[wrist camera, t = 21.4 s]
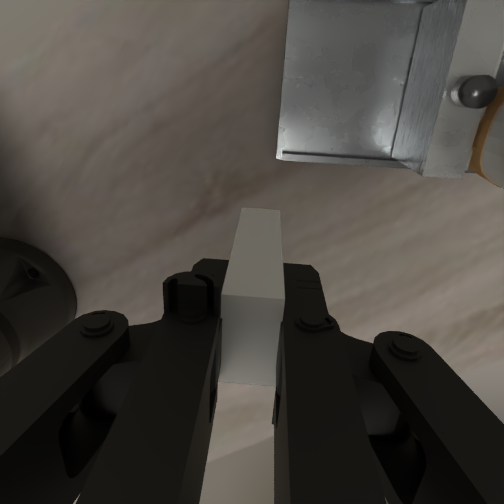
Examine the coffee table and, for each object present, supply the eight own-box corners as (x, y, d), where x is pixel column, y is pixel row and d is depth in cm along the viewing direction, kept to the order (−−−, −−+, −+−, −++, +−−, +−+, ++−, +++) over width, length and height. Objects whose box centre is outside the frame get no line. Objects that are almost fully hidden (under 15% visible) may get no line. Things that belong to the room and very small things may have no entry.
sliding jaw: (391, 156, 35) (432, 182, 26) (423, 7, 30) (488, -24, 21) (429, 159, 35) (483, 186, 26) (467, 10, 30) (552, -21, 21)
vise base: (276, 156, 37) (277, 178, 29) (290, -10, 32) (296, -44, 23) (534, 173, 37) (614, 201, 28) (598, 8, 31) (724, -21, 22)
